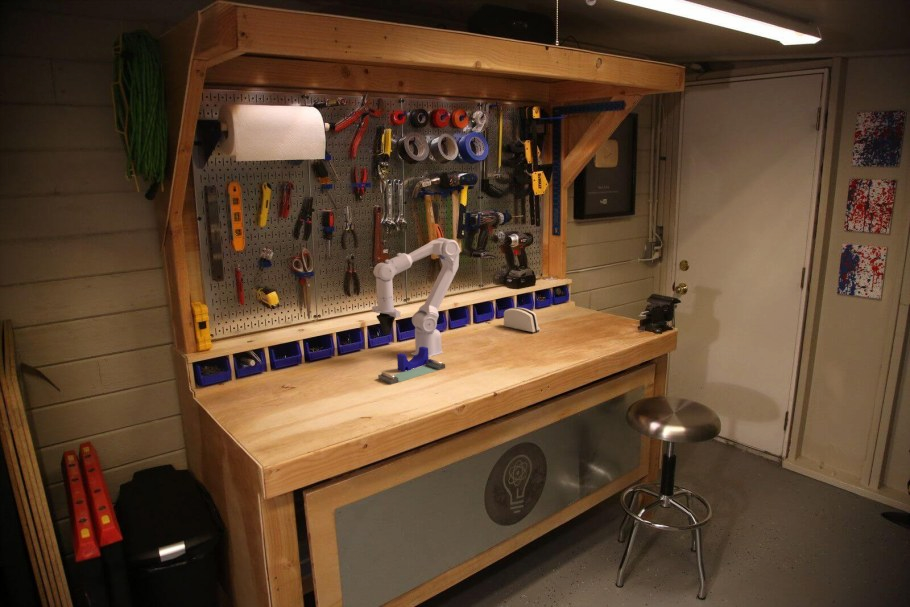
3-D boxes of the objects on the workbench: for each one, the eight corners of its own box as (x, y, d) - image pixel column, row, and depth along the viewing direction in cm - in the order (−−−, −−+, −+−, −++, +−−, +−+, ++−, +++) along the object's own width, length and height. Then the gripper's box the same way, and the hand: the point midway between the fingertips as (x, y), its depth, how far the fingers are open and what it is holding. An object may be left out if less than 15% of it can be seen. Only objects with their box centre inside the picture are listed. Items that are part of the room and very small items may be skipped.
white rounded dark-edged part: (541, 332, 254) (539, 309, 251) (533, 335, 251) (532, 312, 248) (510, 325, 266) (508, 303, 263) (503, 329, 263) (501, 307, 260)
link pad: (424, 366, 213) (424, 365, 213) (437, 370, 208) (437, 370, 208) (387, 376, 203) (387, 376, 203) (399, 381, 198) (399, 381, 198)
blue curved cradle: (419, 361, 219) (419, 345, 218) (428, 364, 216) (428, 347, 215) (394, 370, 211) (394, 353, 209) (403, 372, 208) (403, 355, 206)
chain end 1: (385, 377, 203) (385, 370, 202) (398, 382, 198) (398, 375, 197) (378, 379, 201) (378, 372, 200) (390, 384, 196) (390, 377, 195)
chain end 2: (432, 363, 216) (431, 357, 215) (445, 368, 211) (444, 361, 210) (425, 365, 214) (425, 359, 213) (438, 370, 209) (438, 363, 208)
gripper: (364, 296, 219) (366, 332, 221) (388, 301, 208) (389, 340, 211) (380, 293, 223) (382, 329, 226) (404, 298, 213) (406, 336, 215)
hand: (387, 334), depth 219 cm, fingers closed
